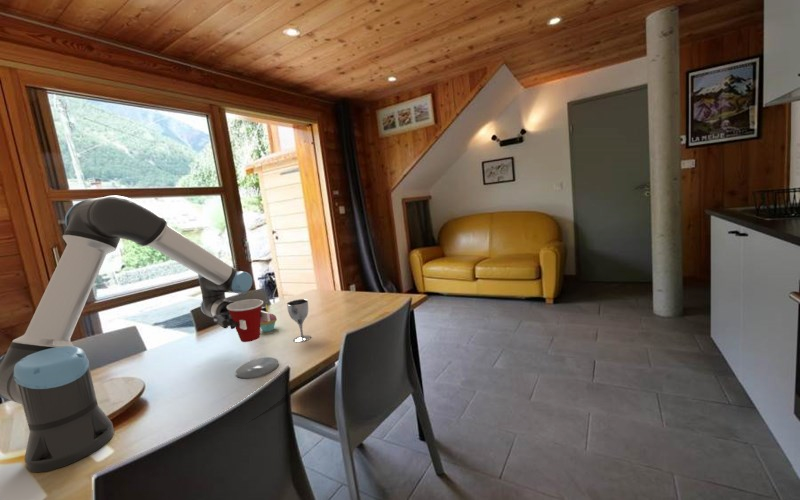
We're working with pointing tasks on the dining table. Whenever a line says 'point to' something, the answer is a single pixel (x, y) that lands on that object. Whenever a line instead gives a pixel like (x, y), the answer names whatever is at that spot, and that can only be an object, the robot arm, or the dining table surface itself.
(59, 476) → the dining table surface
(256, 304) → the plastic cup
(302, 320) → the wine glass
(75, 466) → the dining table surface
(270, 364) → the coaster
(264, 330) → the cupcake
